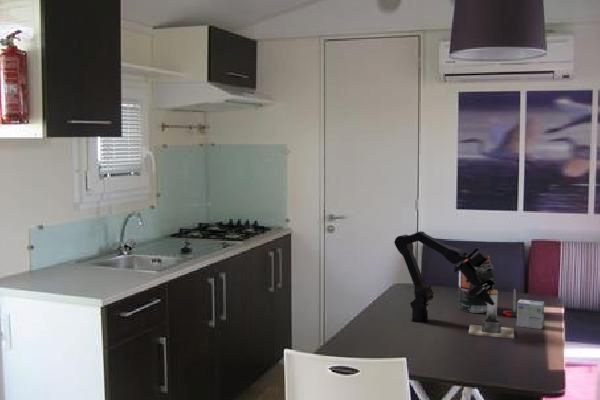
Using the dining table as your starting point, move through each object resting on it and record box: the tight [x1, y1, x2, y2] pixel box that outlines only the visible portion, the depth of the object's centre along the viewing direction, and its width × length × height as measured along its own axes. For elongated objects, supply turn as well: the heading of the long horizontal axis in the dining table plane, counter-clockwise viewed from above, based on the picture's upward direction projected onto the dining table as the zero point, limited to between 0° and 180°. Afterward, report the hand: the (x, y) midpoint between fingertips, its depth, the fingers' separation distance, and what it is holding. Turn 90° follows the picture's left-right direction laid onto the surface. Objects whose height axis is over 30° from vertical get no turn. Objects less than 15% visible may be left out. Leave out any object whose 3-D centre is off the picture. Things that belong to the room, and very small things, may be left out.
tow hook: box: [502, 288, 517, 318], centre depth 321 cm, size 8×13×9 cm
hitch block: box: [468, 317, 515, 339], centre depth 291 cm, size 18×12×5 cm, turn 74°
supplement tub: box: [457, 255, 494, 314], centre depth 329 cm, size 16×16×26 cm
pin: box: [486, 288, 499, 320], centre depth 290 cm, size 4×4×12 cm
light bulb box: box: [516, 299, 545, 330], centre depth 302 cm, size 11×7×11 cm, turn 65°
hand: (495, 303), depth 290 cm, fingers closed on pin, 4 cm apart
